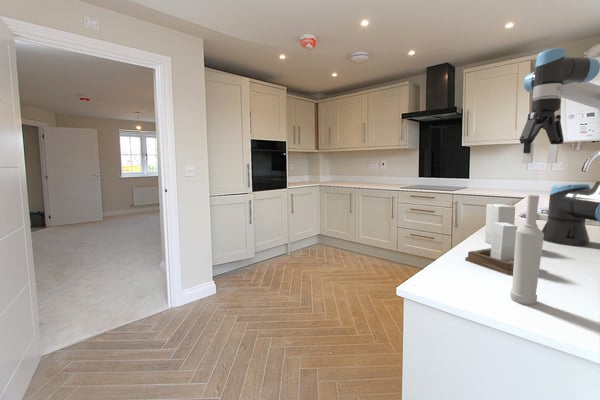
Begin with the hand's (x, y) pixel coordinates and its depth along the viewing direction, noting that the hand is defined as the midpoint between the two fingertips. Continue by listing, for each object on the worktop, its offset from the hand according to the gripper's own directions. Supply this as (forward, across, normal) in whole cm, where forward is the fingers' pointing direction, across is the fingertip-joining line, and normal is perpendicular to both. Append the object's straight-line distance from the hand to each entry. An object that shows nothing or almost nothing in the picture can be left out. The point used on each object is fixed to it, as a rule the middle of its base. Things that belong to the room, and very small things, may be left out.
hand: (539, 163), depth 106 cm
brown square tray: (+32, -22, -4) cm, 39 cm away
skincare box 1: (+32, 0, +12) cm, 34 cm away
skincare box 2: (+31, -22, -4) cm, 38 cm away
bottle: (+32, -42, -23) cm, 57 cm away
